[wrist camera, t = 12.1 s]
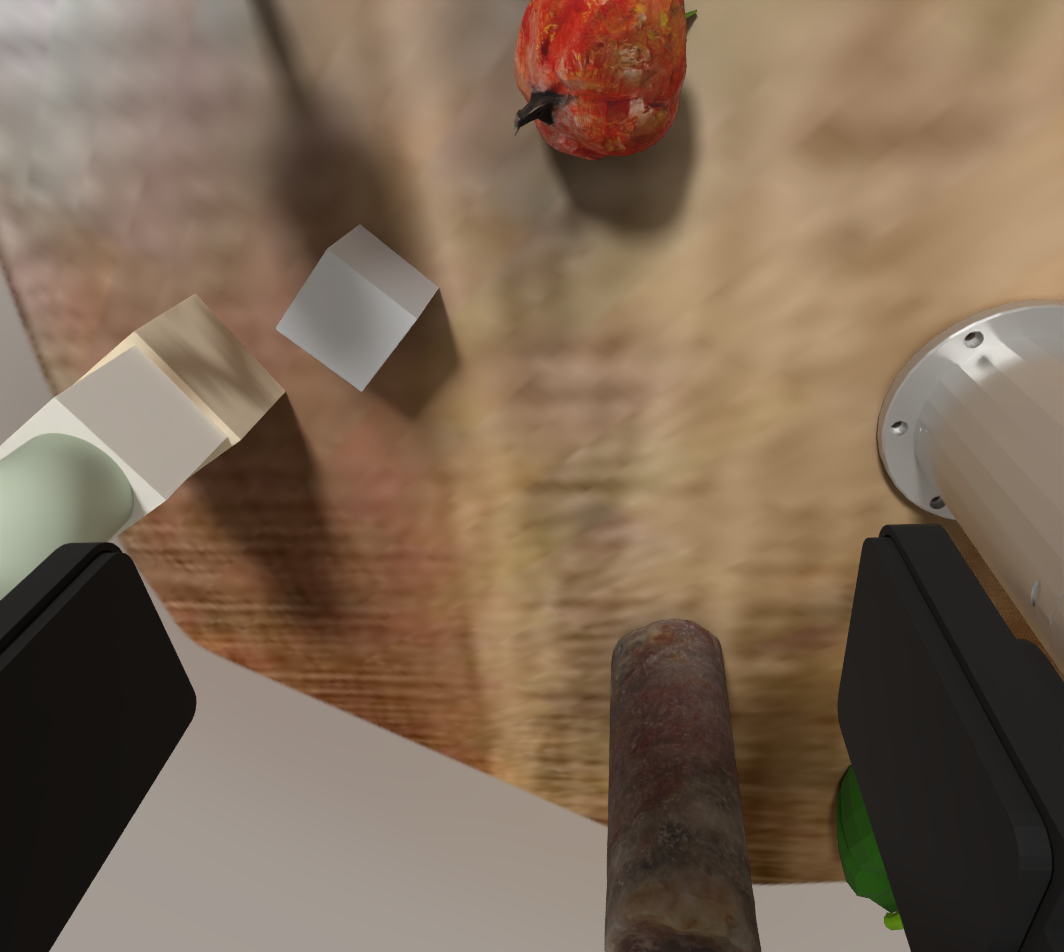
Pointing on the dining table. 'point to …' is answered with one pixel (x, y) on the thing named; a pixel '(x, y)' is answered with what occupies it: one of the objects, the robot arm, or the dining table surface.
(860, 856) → the bell pepper
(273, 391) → the tower base
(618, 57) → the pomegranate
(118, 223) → the dining table surface
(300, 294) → the grey cube
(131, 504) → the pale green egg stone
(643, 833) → the candle
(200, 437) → the tower top
